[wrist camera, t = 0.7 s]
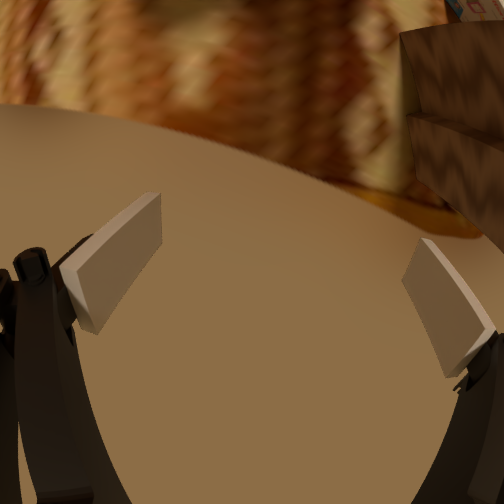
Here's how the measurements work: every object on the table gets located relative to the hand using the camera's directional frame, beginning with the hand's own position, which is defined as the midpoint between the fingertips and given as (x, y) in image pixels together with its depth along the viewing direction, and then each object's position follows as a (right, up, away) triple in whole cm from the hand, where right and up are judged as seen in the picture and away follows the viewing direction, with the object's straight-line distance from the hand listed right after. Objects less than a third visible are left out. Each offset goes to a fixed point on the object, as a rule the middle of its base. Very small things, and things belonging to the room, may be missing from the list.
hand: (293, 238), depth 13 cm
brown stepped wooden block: (+29, +22, +14) cm, 39 cm away
